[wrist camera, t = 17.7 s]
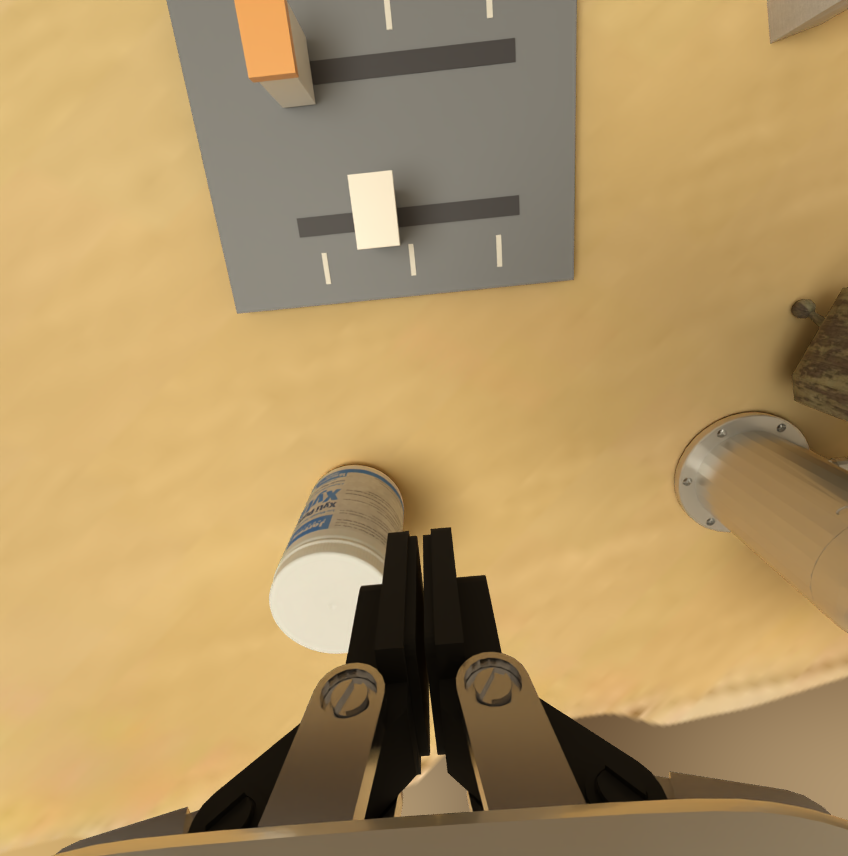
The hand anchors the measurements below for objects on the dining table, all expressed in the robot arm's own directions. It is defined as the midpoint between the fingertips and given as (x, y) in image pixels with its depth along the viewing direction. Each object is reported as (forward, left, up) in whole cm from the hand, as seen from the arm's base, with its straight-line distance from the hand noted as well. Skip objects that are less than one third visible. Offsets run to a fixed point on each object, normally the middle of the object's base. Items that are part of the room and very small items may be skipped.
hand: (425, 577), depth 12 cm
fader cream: (+2, -11, -30) cm, 32 cm away
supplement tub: (+8, +15, -32) cm, 37 cm away
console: (+1, -16, -32) cm, 36 cm away
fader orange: (+7, -21, -30) cm, 37 cm away
